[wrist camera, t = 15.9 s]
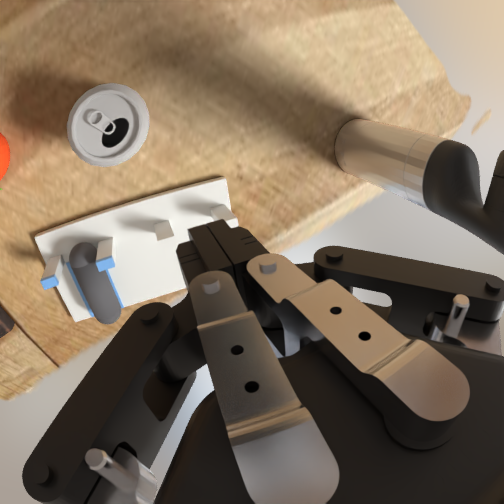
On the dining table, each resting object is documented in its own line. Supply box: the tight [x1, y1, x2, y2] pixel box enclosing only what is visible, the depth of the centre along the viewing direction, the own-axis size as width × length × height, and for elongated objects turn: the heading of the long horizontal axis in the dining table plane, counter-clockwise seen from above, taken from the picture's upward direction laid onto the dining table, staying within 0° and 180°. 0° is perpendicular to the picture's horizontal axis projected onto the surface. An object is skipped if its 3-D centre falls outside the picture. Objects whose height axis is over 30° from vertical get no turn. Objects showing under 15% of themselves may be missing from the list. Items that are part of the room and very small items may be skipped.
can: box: [67, 83, 149, 167], centre depth 26 cm, size 8×8×12 cm
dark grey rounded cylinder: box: [69, 242, 121, 324], centre depth 36 cm, size 12×4×4 cm, turn 7°
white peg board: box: [35, 177, 238, 322], centre depth 37 cm, size 26×14×7 cm, turn 97°
